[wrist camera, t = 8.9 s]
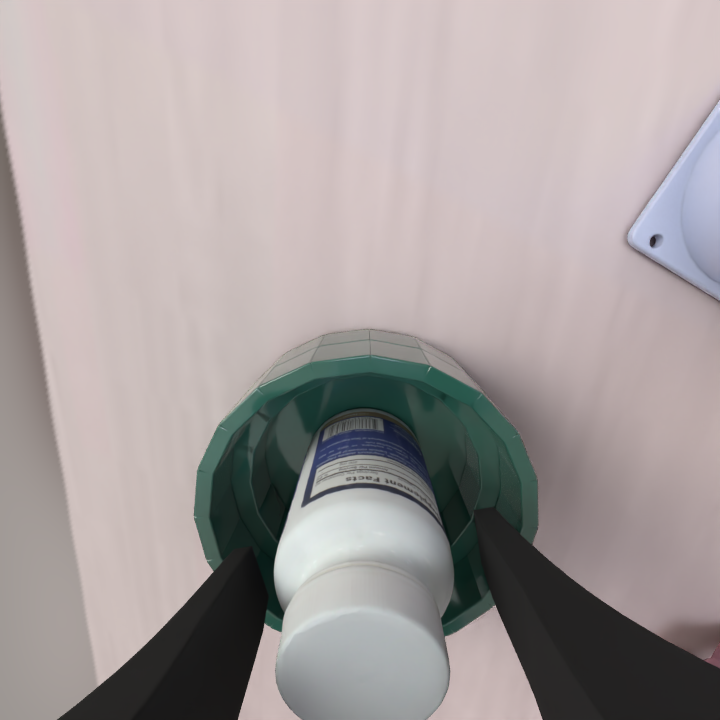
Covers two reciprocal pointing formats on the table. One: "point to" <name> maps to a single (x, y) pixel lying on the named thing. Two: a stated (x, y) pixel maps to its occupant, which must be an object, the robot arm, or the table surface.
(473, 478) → the bowl
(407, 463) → the pill bottle
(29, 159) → the table surface
